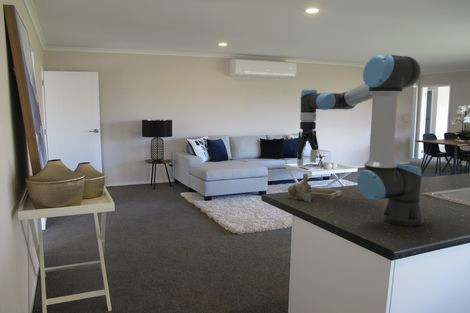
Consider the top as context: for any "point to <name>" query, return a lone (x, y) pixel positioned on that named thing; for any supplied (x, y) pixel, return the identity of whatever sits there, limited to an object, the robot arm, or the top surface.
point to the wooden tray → (322, 190)
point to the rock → (300, 192)
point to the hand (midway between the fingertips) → (306, 164)
